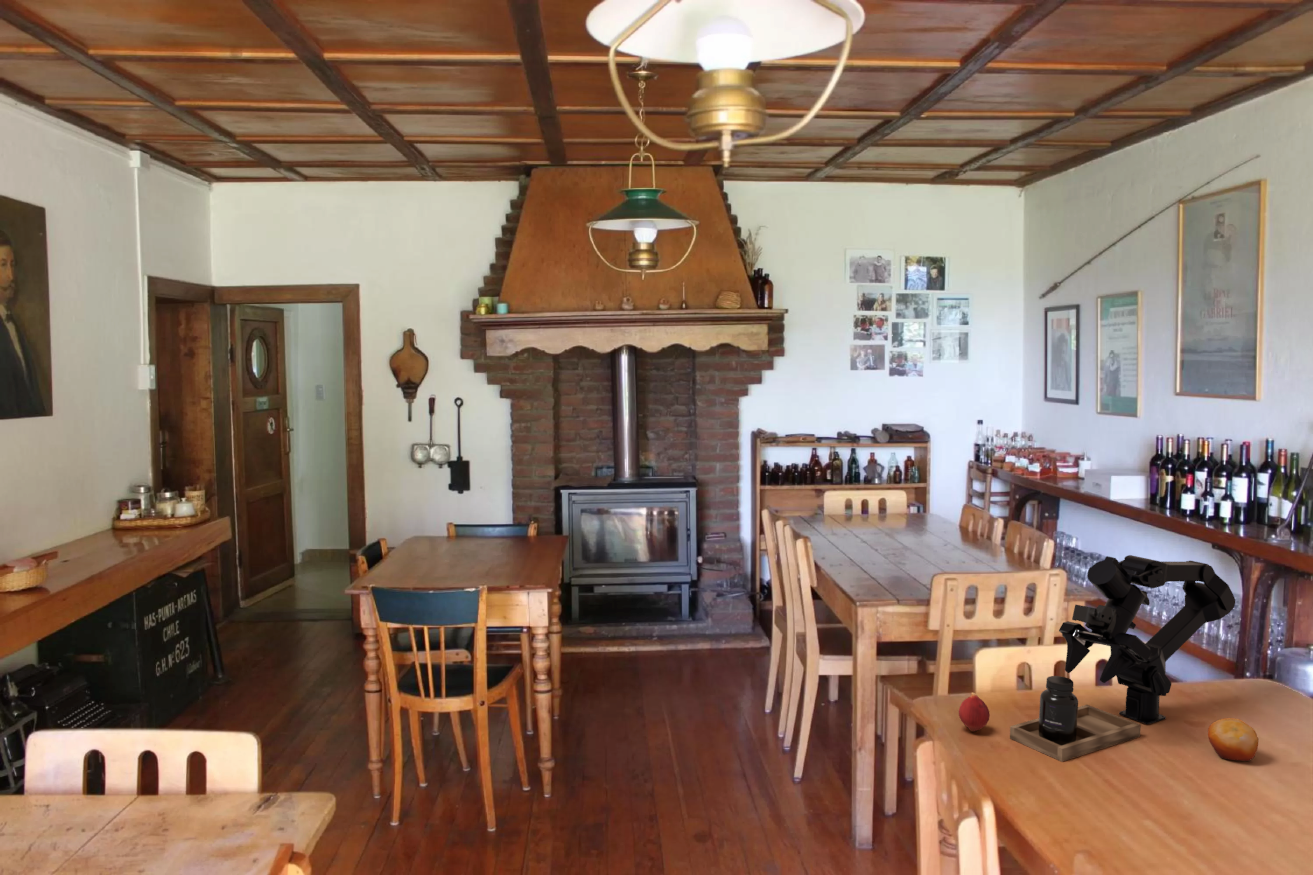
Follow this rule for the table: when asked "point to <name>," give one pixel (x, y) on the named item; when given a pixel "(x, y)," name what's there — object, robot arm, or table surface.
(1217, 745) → the fruit
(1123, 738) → the holder
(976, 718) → the onion
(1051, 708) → the supplement bottle
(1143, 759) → the table surface
